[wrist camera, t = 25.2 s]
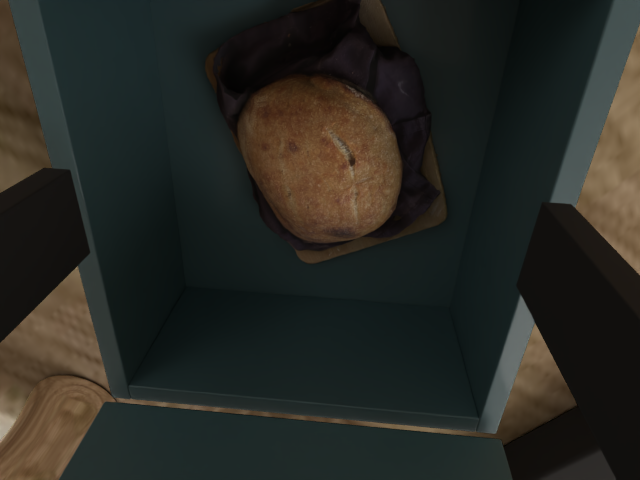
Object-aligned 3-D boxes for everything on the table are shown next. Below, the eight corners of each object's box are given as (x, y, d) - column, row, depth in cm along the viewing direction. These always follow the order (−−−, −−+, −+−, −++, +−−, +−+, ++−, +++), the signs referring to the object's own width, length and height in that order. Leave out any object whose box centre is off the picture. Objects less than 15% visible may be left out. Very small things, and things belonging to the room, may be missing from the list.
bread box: (129, -68, 17) (-20, -102, 11) (546, -50, 17) (675, -75, 10) (178, 288, 25) (111, 397, 19) (459, 311, 25) (496, 434, 18)
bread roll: (457, 213, 21) (475, 254, 18) (292, 263, 23) (282, 308, 20) (388, -35, 17) (395, -39, 13) (189, 55, 19) (154, 70, 15)
